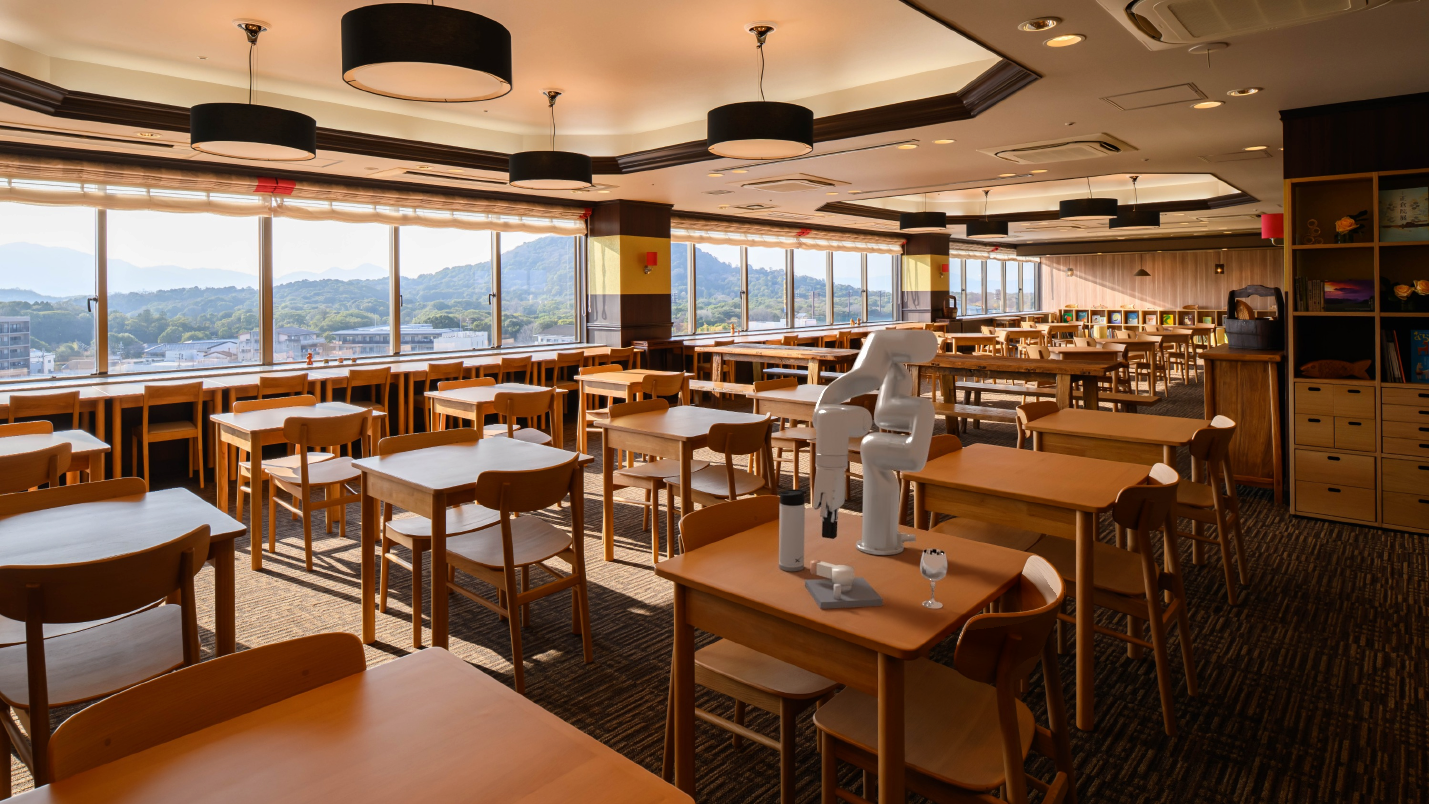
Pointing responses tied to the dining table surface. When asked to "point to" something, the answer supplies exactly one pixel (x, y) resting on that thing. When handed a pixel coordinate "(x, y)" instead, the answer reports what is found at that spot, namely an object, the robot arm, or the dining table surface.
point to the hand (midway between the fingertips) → (829, 537)
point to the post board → (843, 593)
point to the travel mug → (791, 530)
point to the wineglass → (933, 571)
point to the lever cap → (833, 572)
